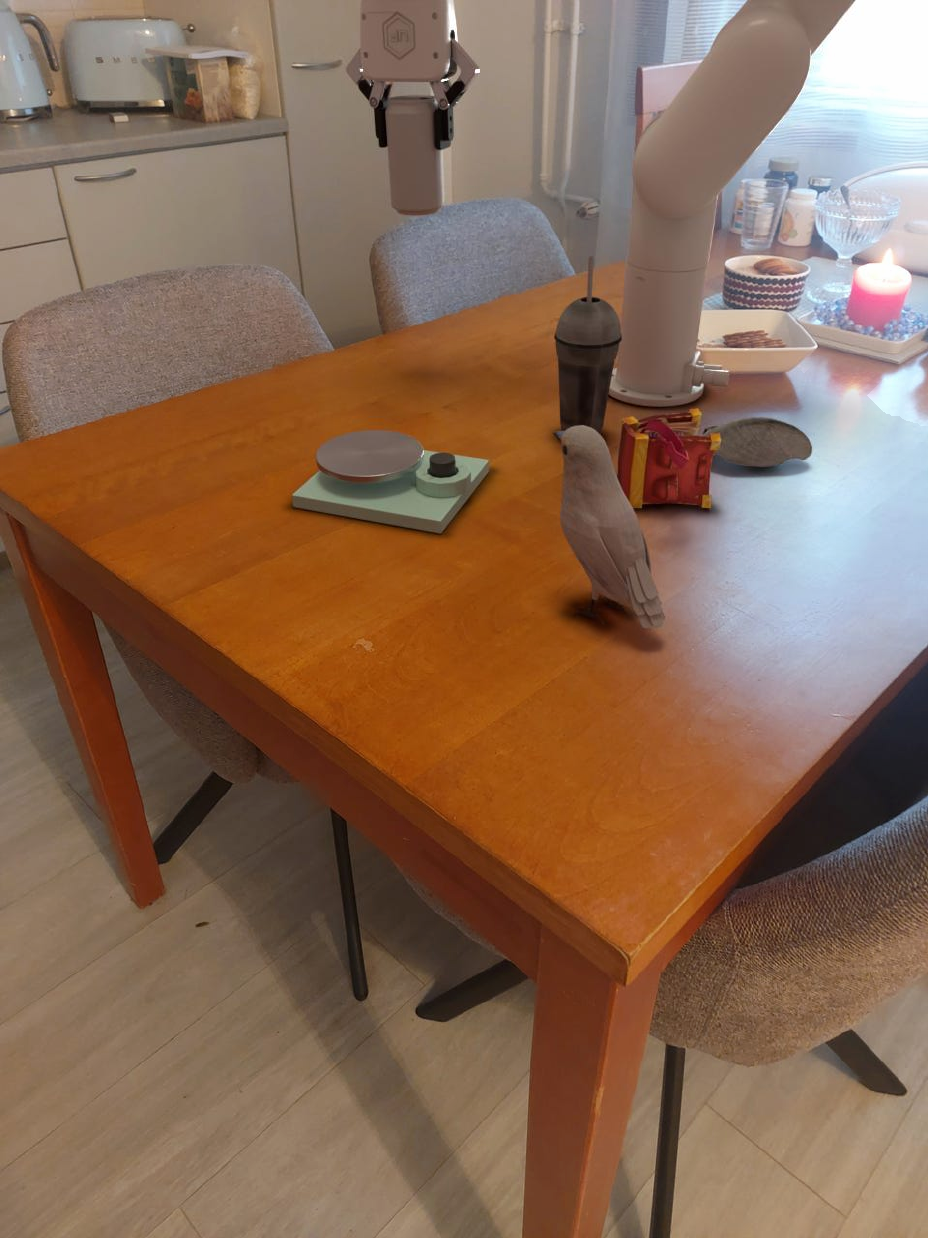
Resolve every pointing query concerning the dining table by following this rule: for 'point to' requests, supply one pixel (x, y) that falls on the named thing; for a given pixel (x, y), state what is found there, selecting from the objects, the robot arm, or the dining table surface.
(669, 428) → the book monster
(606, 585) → the bird
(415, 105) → the beverage can
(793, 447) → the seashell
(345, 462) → the scale pan
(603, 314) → the beverage cup
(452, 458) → the button
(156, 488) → the dining table surface
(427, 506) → the scale
